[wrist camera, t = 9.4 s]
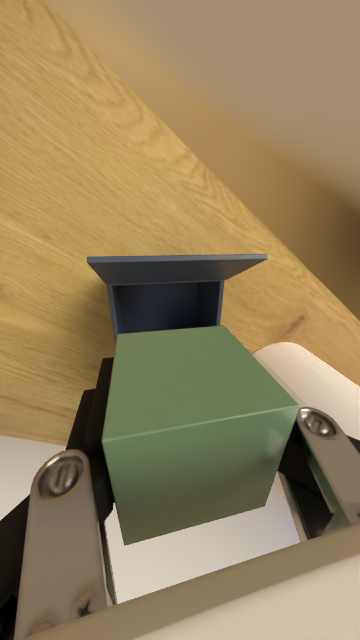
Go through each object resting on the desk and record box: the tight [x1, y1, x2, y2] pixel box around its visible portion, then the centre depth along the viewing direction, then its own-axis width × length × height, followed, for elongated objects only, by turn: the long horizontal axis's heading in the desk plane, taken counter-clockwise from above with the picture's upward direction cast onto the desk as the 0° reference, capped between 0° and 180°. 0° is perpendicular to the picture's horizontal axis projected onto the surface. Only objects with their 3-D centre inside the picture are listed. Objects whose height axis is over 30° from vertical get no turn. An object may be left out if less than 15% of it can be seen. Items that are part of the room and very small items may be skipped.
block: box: [102, 326, 299, 545], centre depth 8 cm, size 5×5×5 cm
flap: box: [87, 254, 267, 284], centre depth 18 cm, size 7×13×1 cm
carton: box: [107, 280, 224, 344], centre depth 29 cm, size 15×13×10 cm
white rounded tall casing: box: [252, 342, 360, 509], centre depth 29 cm, size 35×11×21 cm
